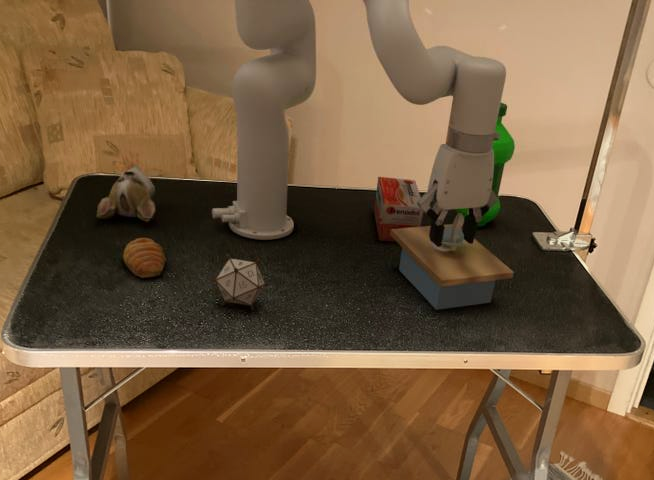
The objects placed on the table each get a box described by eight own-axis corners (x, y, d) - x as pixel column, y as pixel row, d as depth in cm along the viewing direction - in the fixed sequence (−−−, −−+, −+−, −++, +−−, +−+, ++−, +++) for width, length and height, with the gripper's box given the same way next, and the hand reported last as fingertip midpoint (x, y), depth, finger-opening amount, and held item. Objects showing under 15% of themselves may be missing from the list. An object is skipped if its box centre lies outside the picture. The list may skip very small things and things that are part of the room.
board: (440, 286, 122) (442, 280, 121) (389, 235, 137) (390, 229, 136) (512, 278, 128) (513, 272, 127) (456, 229, 142) (457, 223, 142)
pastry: (172, 278, 126) (171, 258, 124) (130, 283, 123) (128, 262, 121) (160, 254, 133) (159, 234, 131) (121, 257, 130) (119, 237, 128)
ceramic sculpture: (163, 159, 147) (149, 192, 135) (166, 199, 152) (153, 234, 140) (107, 154, 146) (88, 187, 134) (112, 195, 151) (94, 231, 139)
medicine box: (419, 244, 149) (425, 207, 144) (378, 242, 148) (383, 204, 143) (410, 214, 161) (415, 178, 157) (372, 211, 160) (376, 175, 156)
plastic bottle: (506, 229, 160) (532, 112, 146) (463, 232, 156) (485, 112, 143) (483, 210, 168) (506, 97, 154) (442, 213, 164) (461, 96, 150)
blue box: (436, 309, 128) (441, 278, 124) (398, 269, 139) (402, 240, 135) (490, 302, 132) (497, 272, 129) (450, 264, 143) (455, 235, 140)
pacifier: (430, 254, 128) (465, 256, 128) (435, 219, 124) (470, 223, 124) (428, 235, 134) (461, 238, 134) (432, 202, 130) (467, 205, 130)
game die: (228, 320, 124) (202, 264, 123) (275, 299, 126) (250, 244, 124) (229, 322, 116) (201, 262, 114) (280, 300, 117) (253, 240, 115)
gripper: (502, 131, 127) (482, 229, 137) (412, 133, 120) (397, 236, 130) (526, 146, 121) (503, 247, 131) (433, 149, 114) (417, 255, 124)
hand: (451, 241), depth 131 cm, fingers closed on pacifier, 5 cm apart
